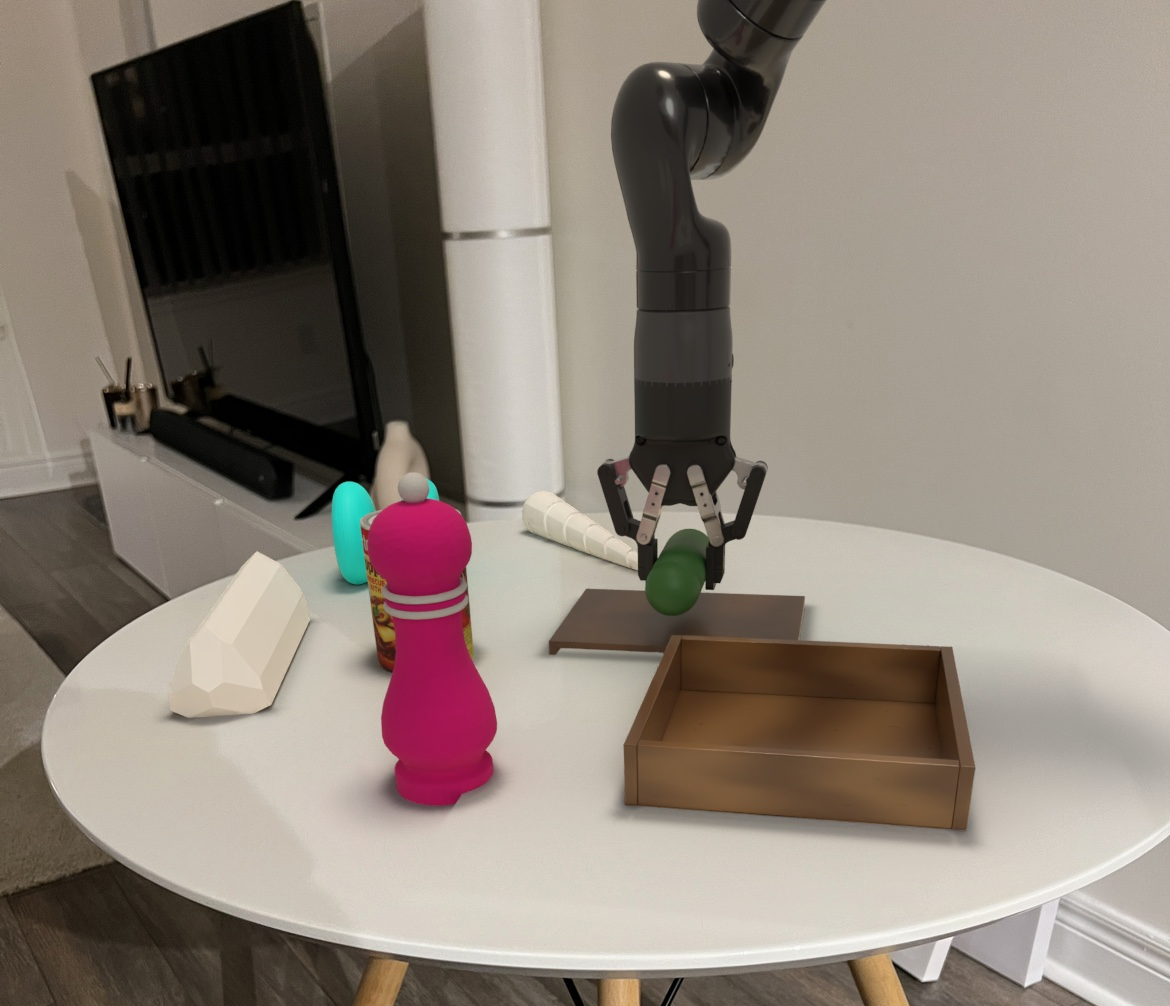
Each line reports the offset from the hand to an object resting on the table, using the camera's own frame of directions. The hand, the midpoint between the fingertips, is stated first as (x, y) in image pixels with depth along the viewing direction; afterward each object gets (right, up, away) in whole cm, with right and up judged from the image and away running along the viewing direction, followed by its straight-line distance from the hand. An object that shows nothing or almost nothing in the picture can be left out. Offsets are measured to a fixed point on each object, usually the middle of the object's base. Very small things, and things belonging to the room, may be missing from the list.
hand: (681, 585), depth 92 cm
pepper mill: (-17, -17, -21) cm, 32 cm away
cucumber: (0, -1, 0) cm, 1 cm away
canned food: (-21, -7, -1) cm, 22 cm away
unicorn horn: (-7, +8, +26) cm, 28 cm away
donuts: (-27, +4, +19) cm, 34 cm away
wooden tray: (+6, -15, -20) cm, 26 cm away
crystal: (-36, -7, -1) cm, 37 cm away
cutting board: (0, -4, +2) cm, 4 cm away
